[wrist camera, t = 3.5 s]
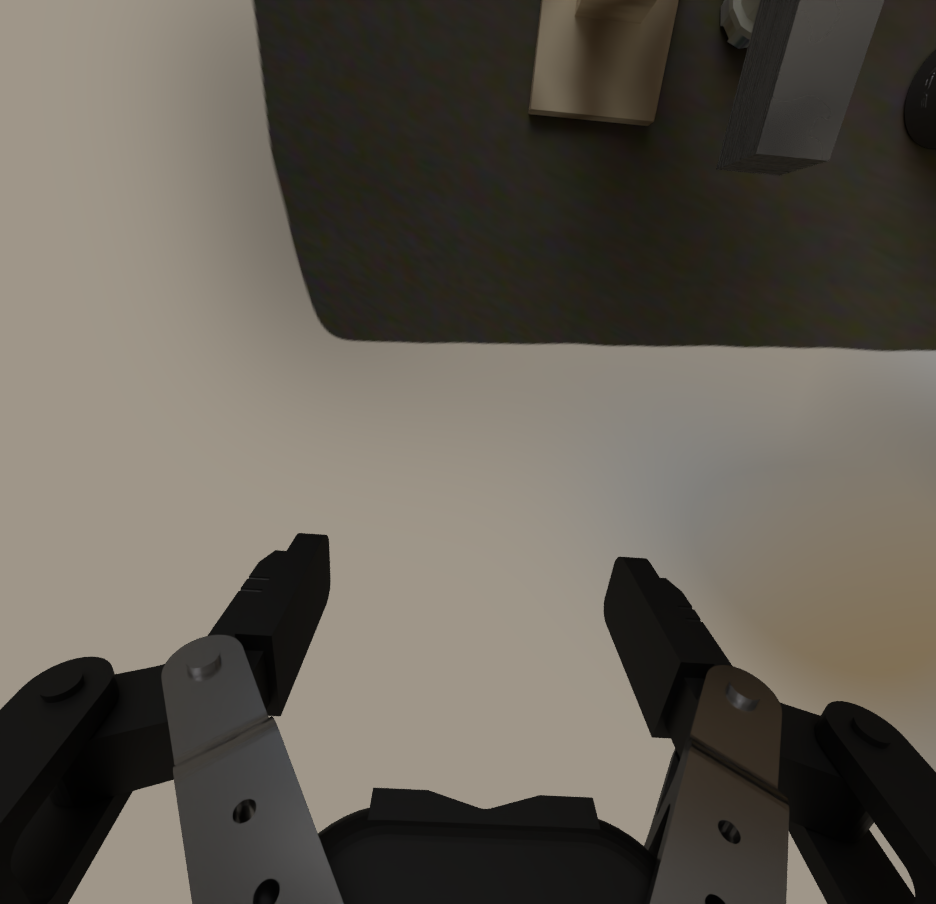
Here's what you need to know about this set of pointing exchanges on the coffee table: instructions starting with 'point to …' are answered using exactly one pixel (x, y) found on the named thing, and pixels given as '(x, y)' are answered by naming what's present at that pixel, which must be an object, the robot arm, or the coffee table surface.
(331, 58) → the coffee table surface
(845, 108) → the grey long bar
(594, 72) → the birch stand
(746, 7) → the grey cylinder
